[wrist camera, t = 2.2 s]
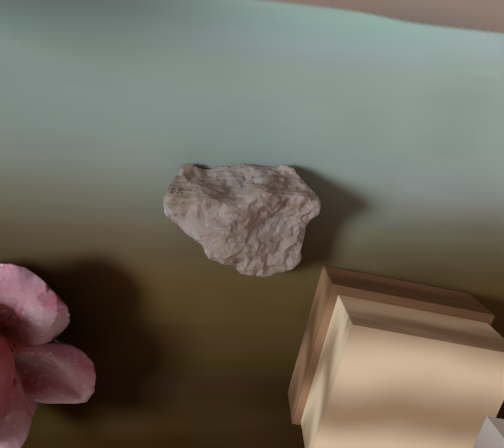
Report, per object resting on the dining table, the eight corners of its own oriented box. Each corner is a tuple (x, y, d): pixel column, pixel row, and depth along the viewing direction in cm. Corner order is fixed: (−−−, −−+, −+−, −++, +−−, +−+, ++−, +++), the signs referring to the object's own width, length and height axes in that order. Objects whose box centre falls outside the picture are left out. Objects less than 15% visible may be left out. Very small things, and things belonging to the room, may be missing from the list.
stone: (290, 271, 31) (297, 308, 25) (165, 243, 31) (145, 274, 25) (318, 171, 29) (333, 187, 23) (184, 139, 28) (166, 147, 23)
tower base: (322, 262, 31) (332, 284, 27) (465, 290, 32) (495, 315, 28) (287, 388, 35) (292, 423, 31) (418, 411, 35) (439, 448, 31)
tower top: (338, 294, 28) (352, 324, 24) (486, 322, 28) (523, 356, 25) (300, 421, 31) (308, 466, 27) (435, 444, 31) (462, 491, 28)
